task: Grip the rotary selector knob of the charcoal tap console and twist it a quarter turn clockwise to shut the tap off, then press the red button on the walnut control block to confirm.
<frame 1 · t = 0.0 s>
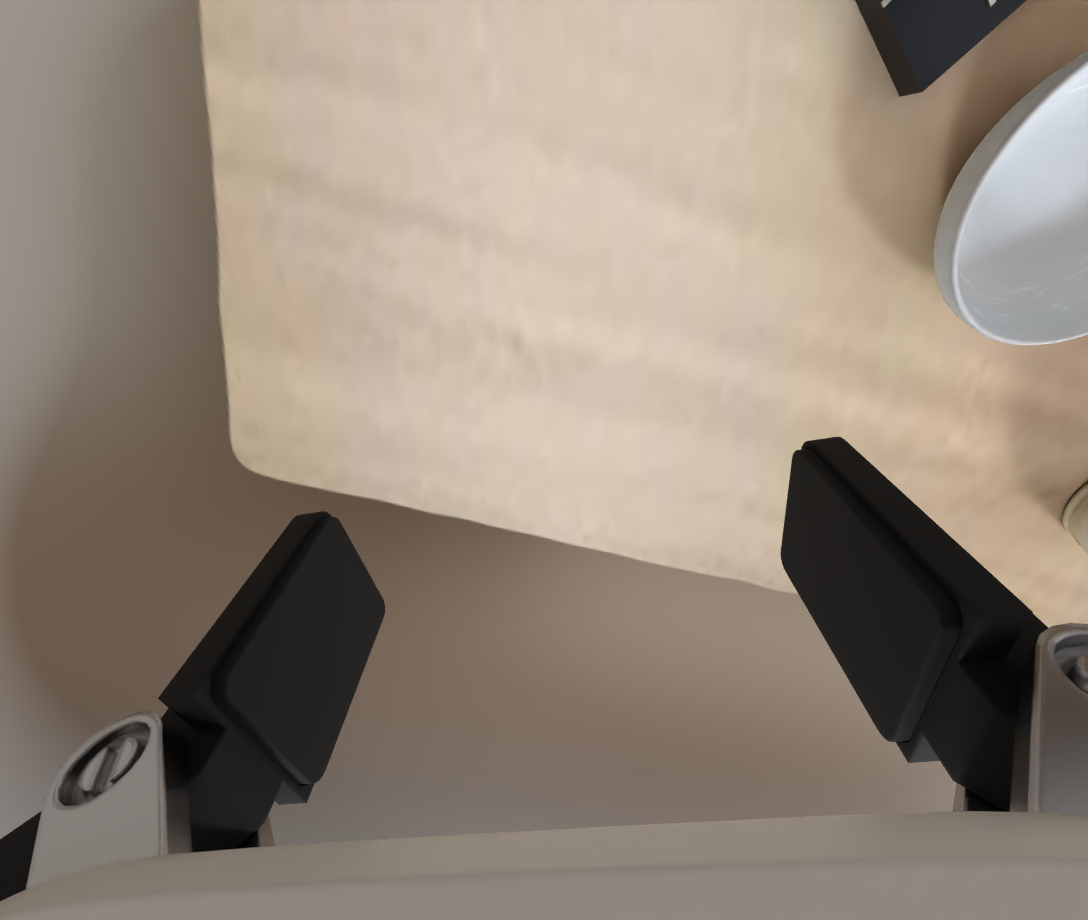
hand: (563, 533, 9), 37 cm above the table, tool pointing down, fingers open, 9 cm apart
serving bowl: (1030, 198, 38), on the table
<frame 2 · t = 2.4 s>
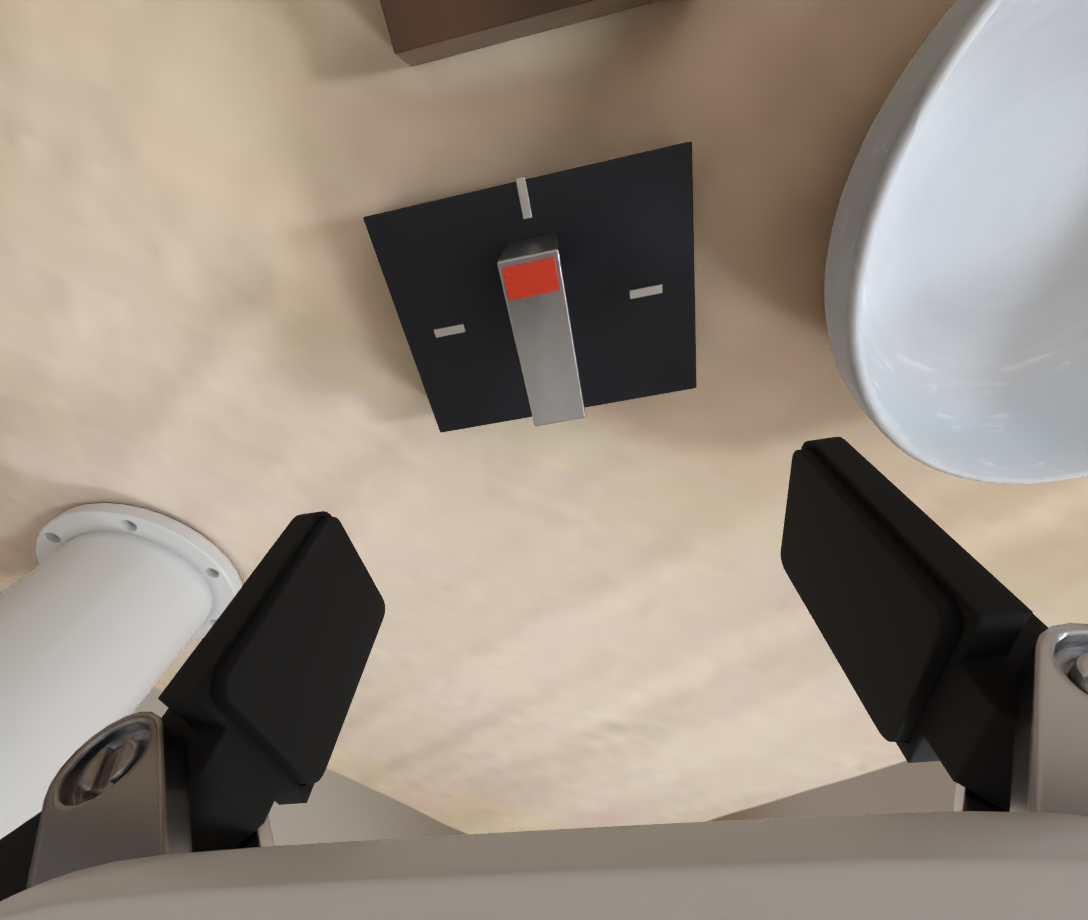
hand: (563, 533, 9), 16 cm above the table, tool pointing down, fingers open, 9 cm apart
serving bowl: (1009, 203, 20), on the table
tap console: (545, 298, 22), on the table
rotary selector knob: (545, 327, 18), point 5 cm above the table, hinge at 90.0°
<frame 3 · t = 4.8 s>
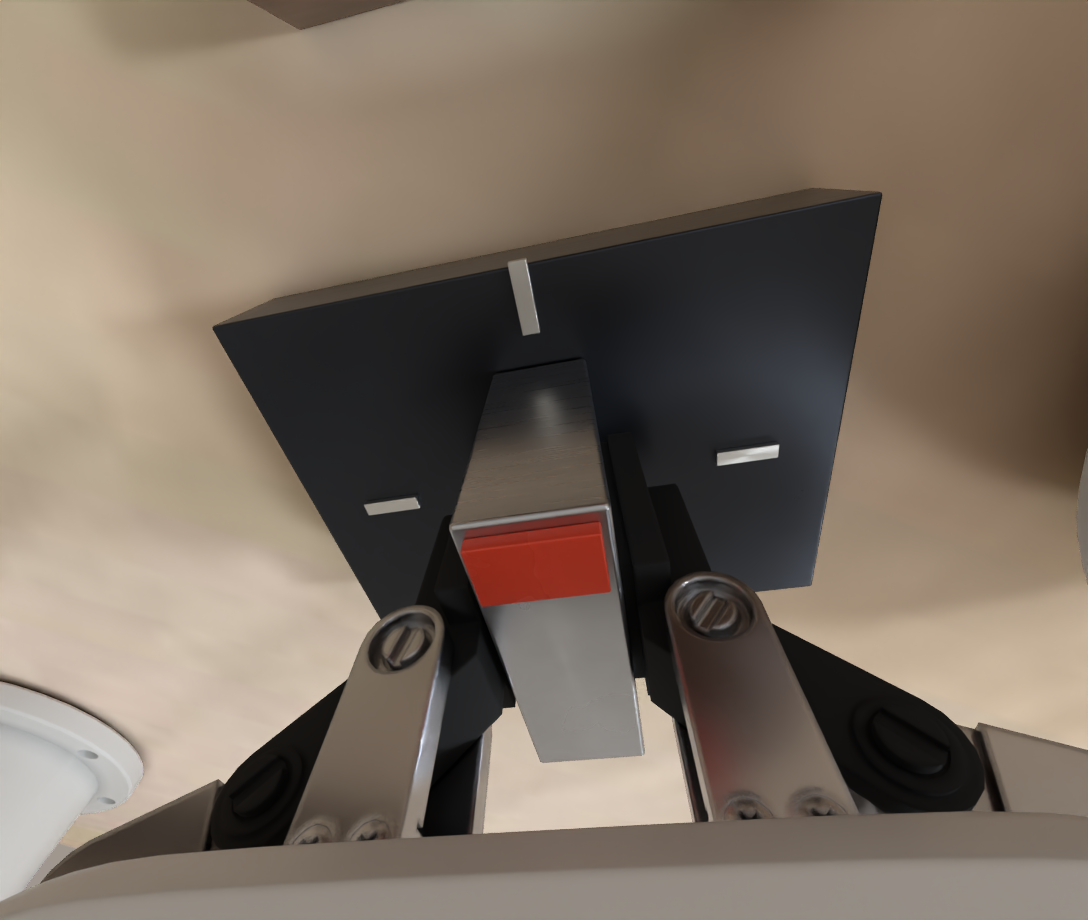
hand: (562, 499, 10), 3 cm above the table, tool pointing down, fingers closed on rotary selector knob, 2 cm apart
tap console: (560, 430, 13), on the table
rotary selector knob: (563, 555, 9), point 5 cm above the table, hinge at 90.0°, touching gripper
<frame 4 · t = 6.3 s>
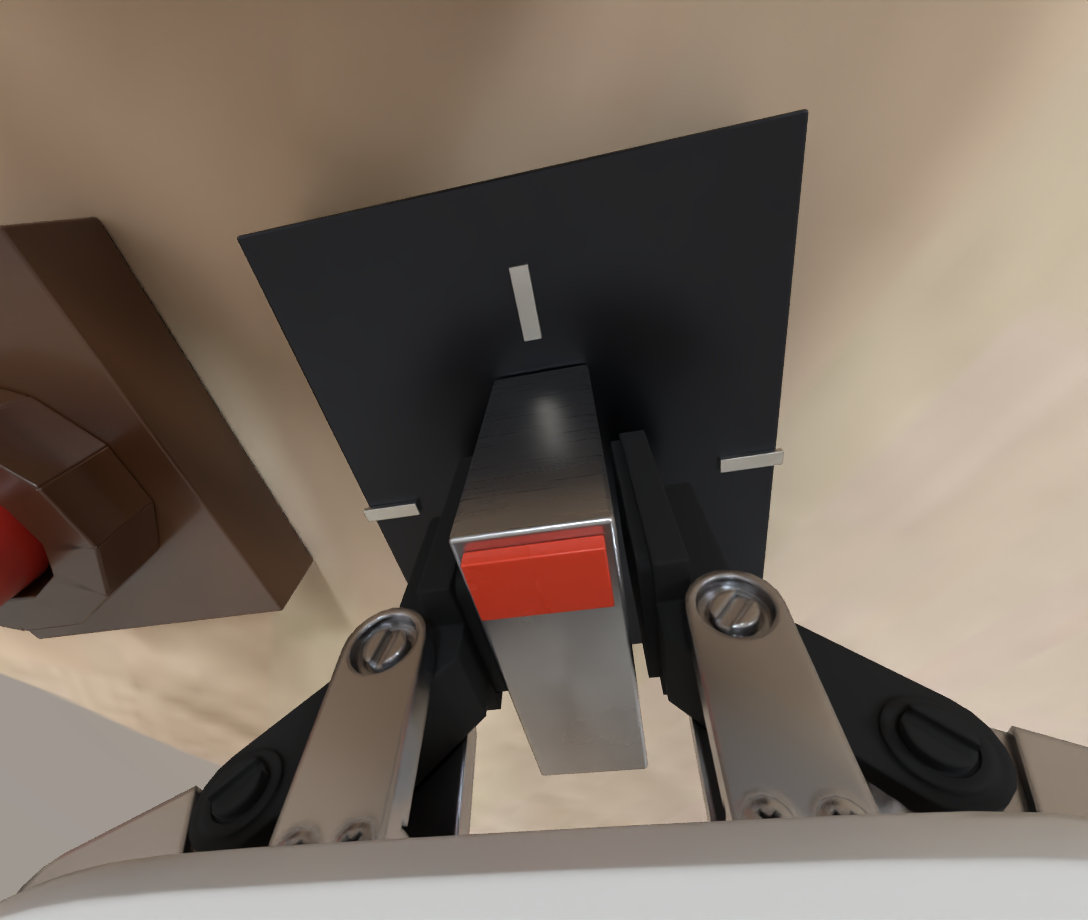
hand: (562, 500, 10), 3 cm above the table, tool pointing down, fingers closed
tap console: (561, 435, 13), on the table
control block: (95, 448, 14), on the table
rotary selector knob: (565, 564, 9), point 5 cm above the table, hinge at 0.0°
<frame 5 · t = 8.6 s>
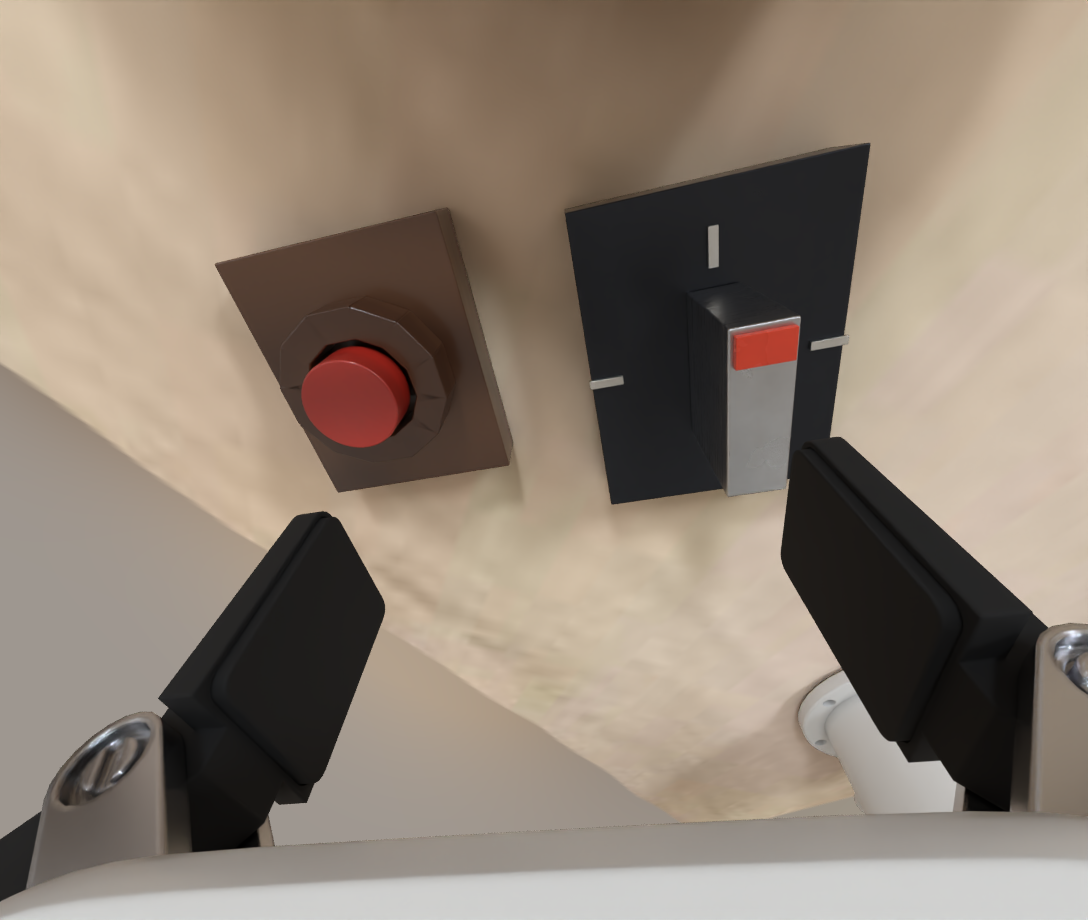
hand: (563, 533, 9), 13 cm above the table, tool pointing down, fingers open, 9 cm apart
tap console: (697, 343, 21), on the table
confirm button: (358, 397, 18), point 4 cm above the table, slide at 0.1 cm
control block: (394, 359, 21), on the table
rotary selector knob: (735, 387, 16), point 5 cm above the table, hinge at 0.0°
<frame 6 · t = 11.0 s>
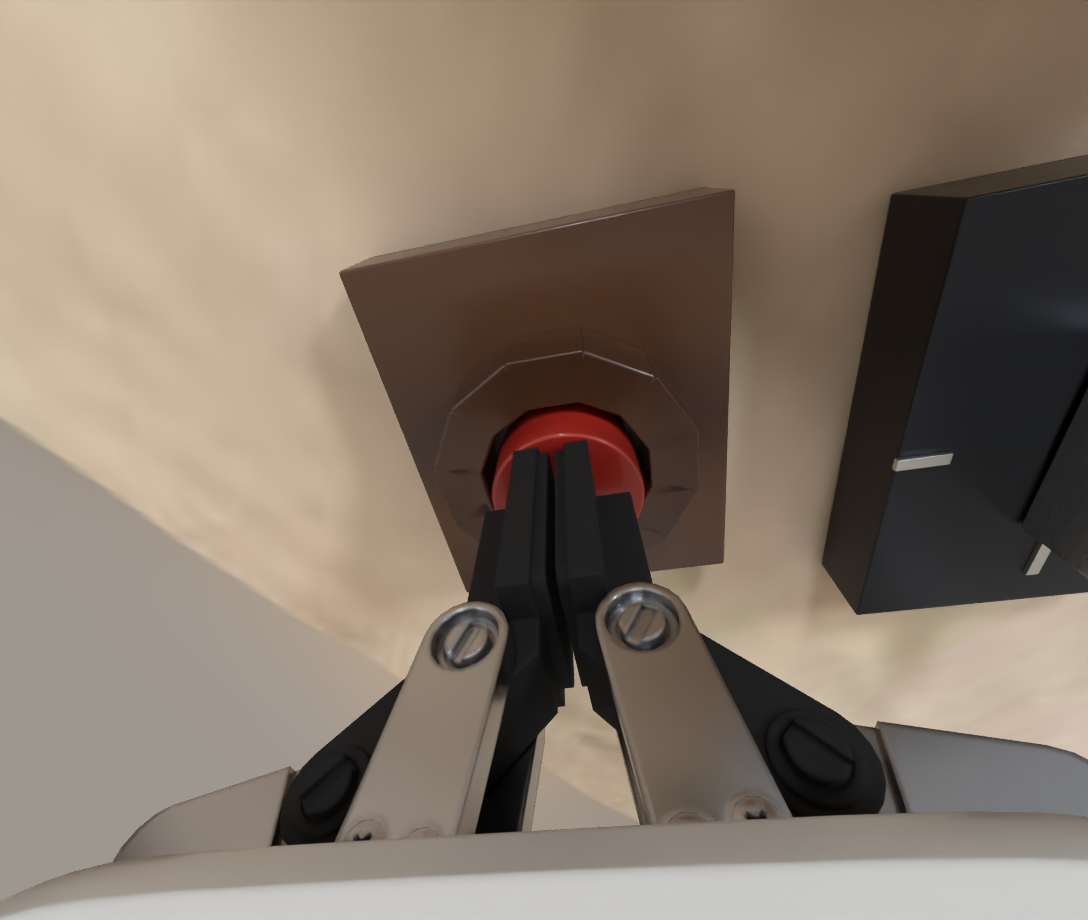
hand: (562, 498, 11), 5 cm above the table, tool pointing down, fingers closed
tap console: (1017, 396, 14), on the table
confirm button: (567, 480, 11), point 4 cm above the table, slide at -0.4 cm, touching gripper
control block: (564, 410, 15), on the table
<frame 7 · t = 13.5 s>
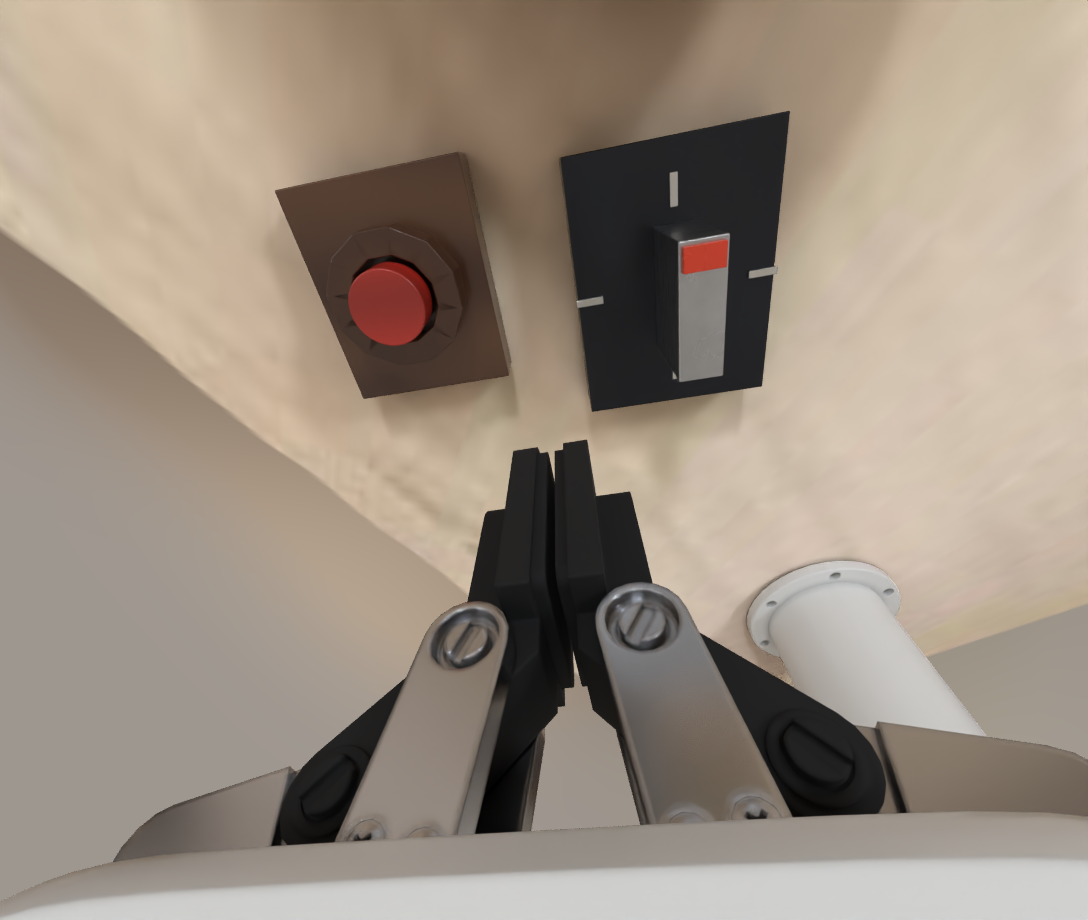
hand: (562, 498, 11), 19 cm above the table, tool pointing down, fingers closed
tap console: (663, 276, 25), on the table
confirm button: (391, 304, 22), point 4 cm above the table, slide at 0.1 cm
control block: (414, 283, 26), on the table
rotary selector knob: (687, 300, 21), point 5 cm above the table, hinge at 0.0°
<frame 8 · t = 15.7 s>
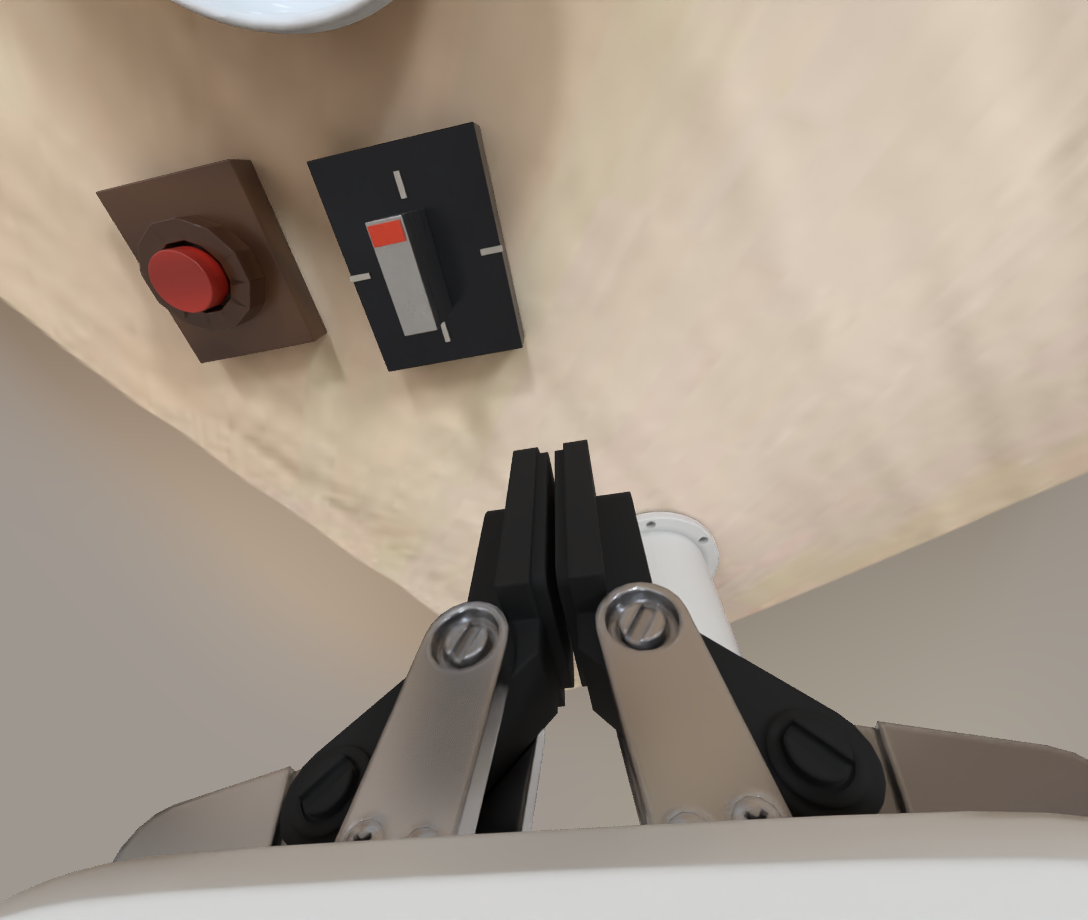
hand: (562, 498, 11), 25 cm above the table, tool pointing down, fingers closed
tap console: (433, 257, 31), on the table
confirm button: (190, 279, 28), point 4 cm above the table, slide at 0.1 cm
control block: (233, 266, 32), on the table
rotary selector knob: (414, 271, 27), point 5 cm above the table, hinge at 0.0°
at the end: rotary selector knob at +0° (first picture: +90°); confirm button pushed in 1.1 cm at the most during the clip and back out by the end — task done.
